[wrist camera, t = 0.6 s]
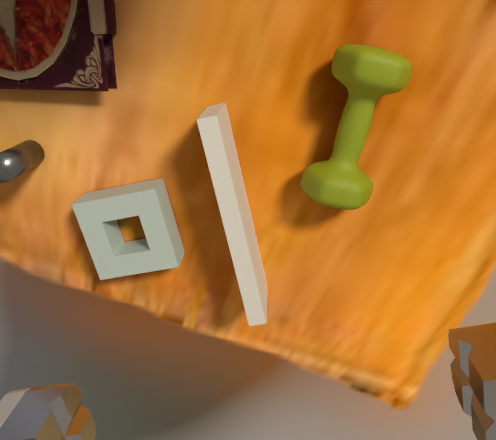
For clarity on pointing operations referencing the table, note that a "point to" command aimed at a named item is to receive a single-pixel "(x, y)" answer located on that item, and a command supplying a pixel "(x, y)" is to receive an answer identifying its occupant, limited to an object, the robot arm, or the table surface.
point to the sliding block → (110, 237)
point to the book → (57, 44)
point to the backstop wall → (234, 210)
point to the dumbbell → (354, 123)
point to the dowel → (19, 159)
